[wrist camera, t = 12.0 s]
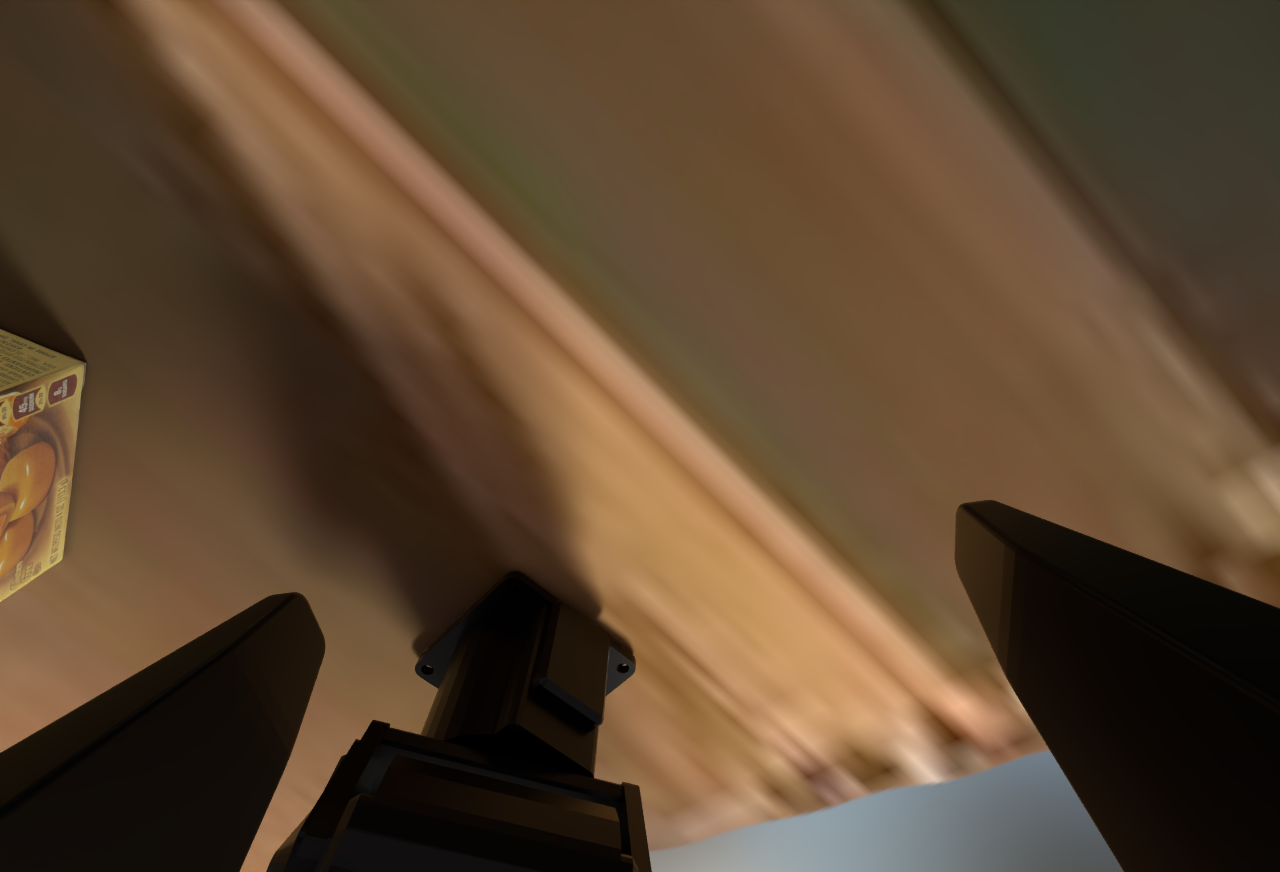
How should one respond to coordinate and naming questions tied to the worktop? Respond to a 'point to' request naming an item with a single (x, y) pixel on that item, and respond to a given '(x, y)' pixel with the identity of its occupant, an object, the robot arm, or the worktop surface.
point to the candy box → (35, 456)
